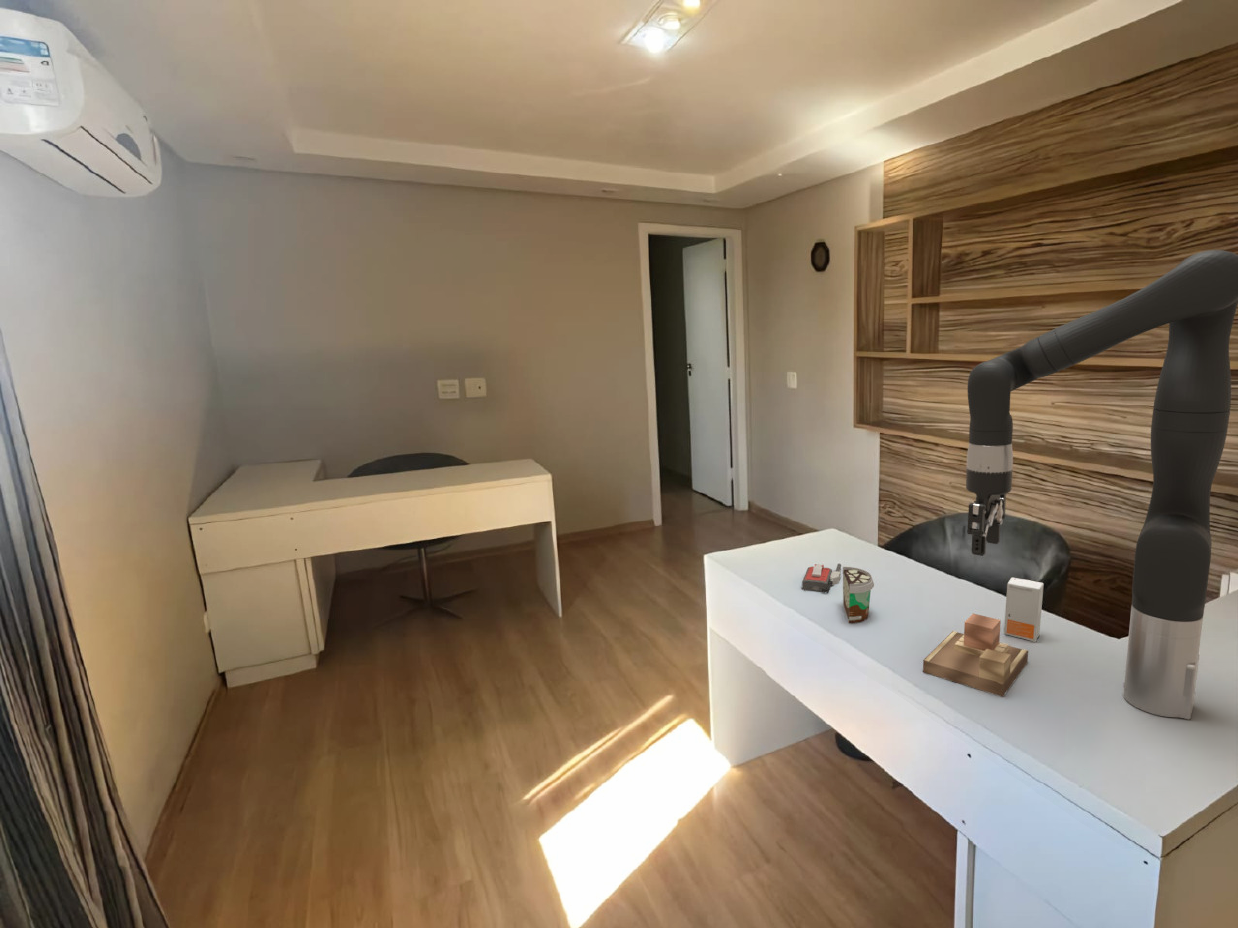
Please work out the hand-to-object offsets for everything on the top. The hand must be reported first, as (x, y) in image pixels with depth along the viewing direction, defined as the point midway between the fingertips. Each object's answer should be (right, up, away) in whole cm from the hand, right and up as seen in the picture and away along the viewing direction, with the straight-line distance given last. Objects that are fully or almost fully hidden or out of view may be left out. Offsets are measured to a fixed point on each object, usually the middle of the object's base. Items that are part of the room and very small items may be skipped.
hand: (985, 548), depth 124 cm
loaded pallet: (+1, -21, +4) cm, 21 cm away
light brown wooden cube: (-2, -23, -6) cm, 24 cm away
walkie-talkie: (-15, -16, +51) cm, 56 cm away
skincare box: (+16, -21, +14) cm, 30 cm away
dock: (-1, -24, +3) cm, 24 cm away
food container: (-14, -20, +29) cm, 37 cm away
